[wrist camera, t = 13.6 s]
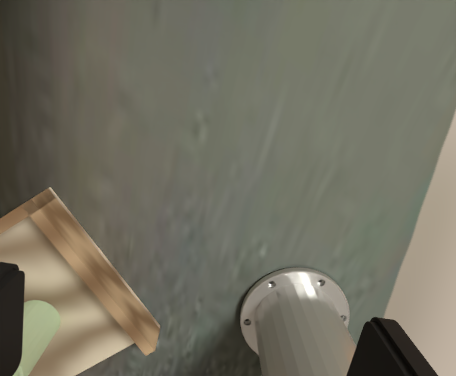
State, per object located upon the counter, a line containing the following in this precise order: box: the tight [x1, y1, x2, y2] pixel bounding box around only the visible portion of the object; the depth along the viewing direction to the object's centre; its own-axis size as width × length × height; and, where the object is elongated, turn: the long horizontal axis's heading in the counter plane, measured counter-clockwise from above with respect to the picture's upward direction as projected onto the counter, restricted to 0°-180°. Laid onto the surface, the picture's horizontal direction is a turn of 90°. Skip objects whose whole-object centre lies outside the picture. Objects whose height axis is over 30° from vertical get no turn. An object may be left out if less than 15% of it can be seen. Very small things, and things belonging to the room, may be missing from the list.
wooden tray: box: [0, 187, 160, 376], centre depth 38 cm, size 20×20×4 cm
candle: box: [13, 300, 61, 376], centre depth 36 cm, size 5×5×8 cm
